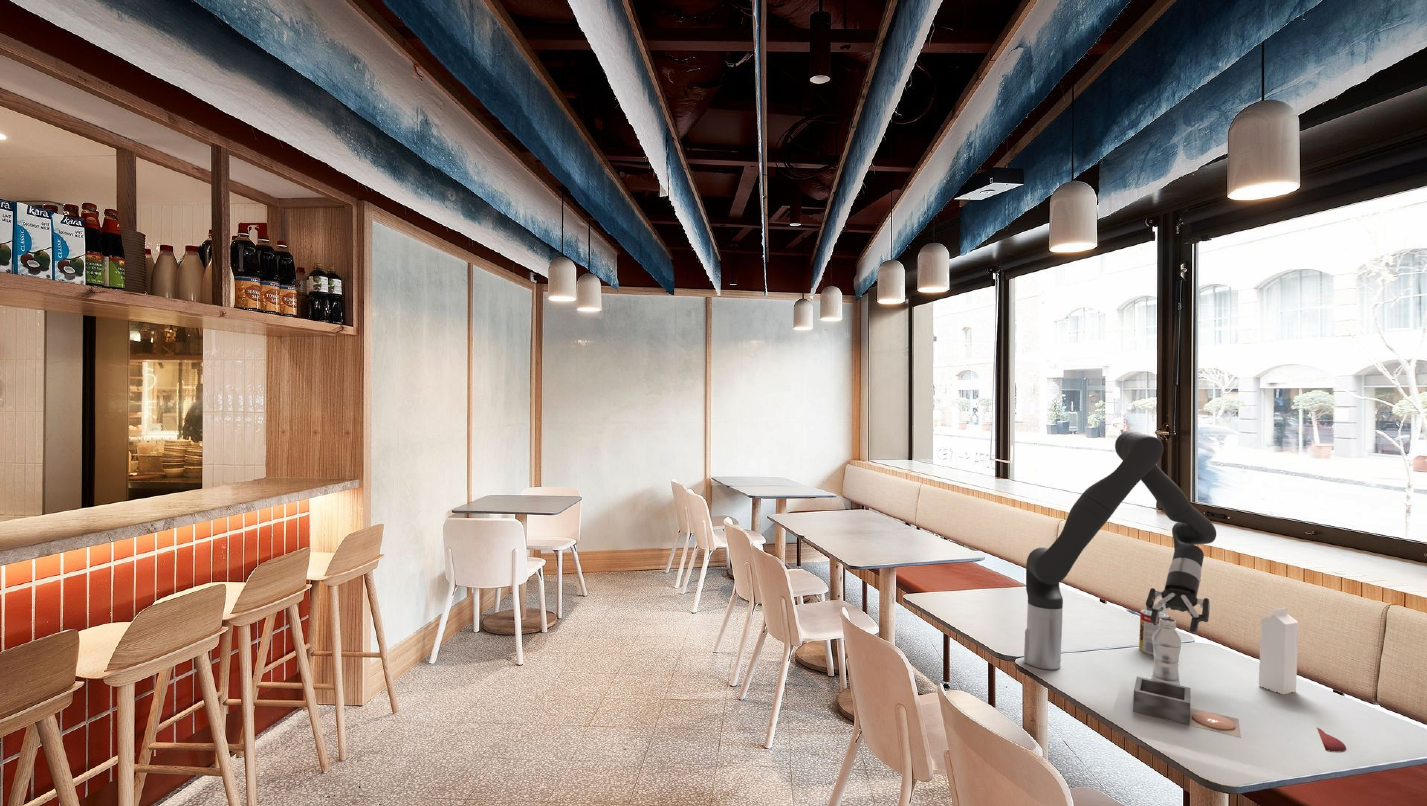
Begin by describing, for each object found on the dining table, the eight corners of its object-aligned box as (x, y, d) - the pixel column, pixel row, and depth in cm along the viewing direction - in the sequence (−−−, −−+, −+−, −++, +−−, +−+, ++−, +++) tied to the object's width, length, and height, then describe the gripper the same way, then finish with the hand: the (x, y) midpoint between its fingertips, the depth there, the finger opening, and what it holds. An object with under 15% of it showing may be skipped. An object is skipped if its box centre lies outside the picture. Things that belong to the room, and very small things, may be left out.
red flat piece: (1282, 753, 156) (1282, 744, 156) (1235, 724, 170) (1235, 716, 170) (1360, 755, 157) (1360, 746, 157) (1307, 726, 170) (1307, 718, 170)
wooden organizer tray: (1132, 717, 170) (1133, 691, 170) (1135, 701, 180) (1136, 676, 180) (1240, 744, 159) (1242, 715, 159) (1238, 725, 169) (1239, 697, 169)
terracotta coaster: (1191, 723, 165) (1191, 721, 165) (1191, 710, 172) (1191, 709, 172) (1236, 733, 161) (1236, 731, 161) (1234, 720, 168) (1234, 718, 168)
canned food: (1168, 650, 220) (1170, 612, 220) (1169, 658, 214) (1170, 618, 213) (1139, 645, 224) (1140, 607, 224) (1138, 652, 218) (1140, 613, 218)
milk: (1296, 692, 190) (1300, 610, 190) (1282, 695, 188) (1286, 612, 188) (1270, 683, 196) (1274, 604, 196) (1257, 686, 194) (1261, 606, 193)
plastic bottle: (1184, 702, 181) (1187, 624, 181) (1155, 699, 182) (1158, 622, 182) (1173, 692, 187) (1176, 617, 187) (1145, 689, 188) (1148, 615, 188)
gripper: (1152, 565, 200) (1140, 613, 192) (1213, 575, 190) (1203, 626, 182) (1156, 581, 204) (1144, 629, 196) (1215, 591, 194) (1206, 642, 186)
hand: (1172, 627), depth 189 cm, fingers open, 8 cm apart
